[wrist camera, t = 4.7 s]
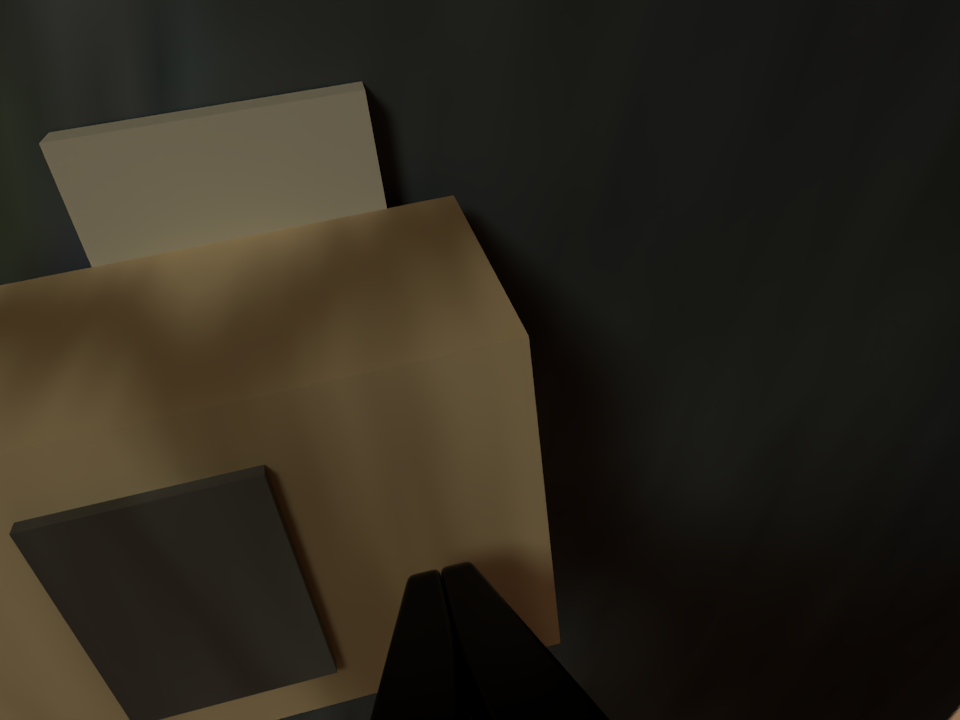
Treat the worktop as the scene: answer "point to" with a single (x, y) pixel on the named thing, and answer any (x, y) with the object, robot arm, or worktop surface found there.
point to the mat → (217, 172)
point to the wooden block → (258, 466)
